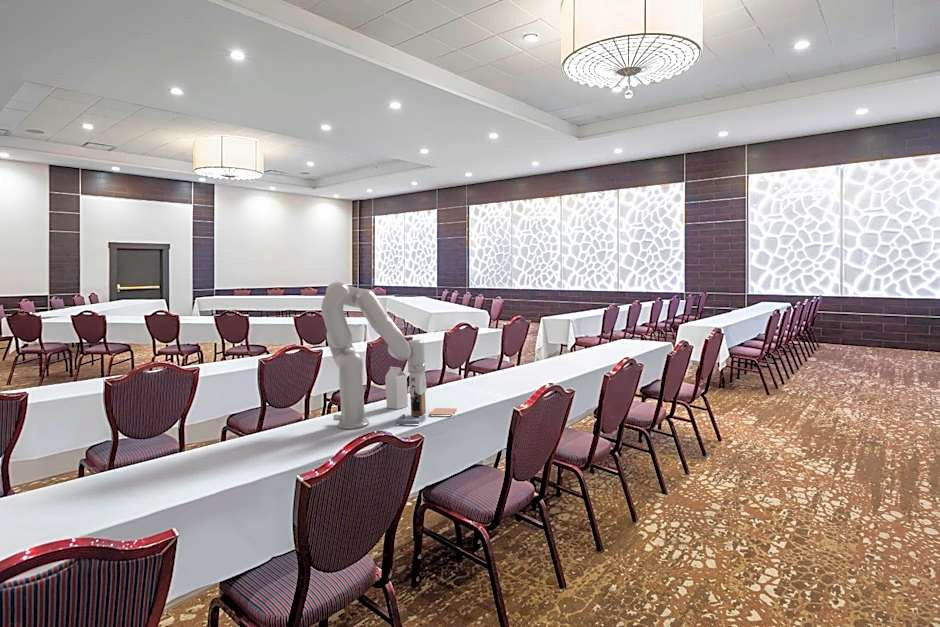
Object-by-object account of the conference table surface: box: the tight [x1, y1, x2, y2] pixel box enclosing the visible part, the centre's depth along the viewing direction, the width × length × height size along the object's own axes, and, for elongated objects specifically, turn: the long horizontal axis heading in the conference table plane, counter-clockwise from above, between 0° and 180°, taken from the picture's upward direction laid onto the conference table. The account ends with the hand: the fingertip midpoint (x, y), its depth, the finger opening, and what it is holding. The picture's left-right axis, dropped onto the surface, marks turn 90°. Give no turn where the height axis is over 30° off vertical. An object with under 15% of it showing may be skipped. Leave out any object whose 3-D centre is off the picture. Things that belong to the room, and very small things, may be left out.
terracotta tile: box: [428, 407, 458, 416], centre depth 239 cm, size 10×10×1 cm
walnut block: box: [409, 392, 427, 416], centre depth 237 cm, size 5×5×10 cm
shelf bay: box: [395, 414, 426, 425], centre depth 227 cm, size 10×9×2 cm
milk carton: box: [384, 366, 409, 410], centre depth 252 cm, size 7×7×19 cm
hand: (418, 408), depth 237 cm, fingers closed on walnut block, 5 cm apart
